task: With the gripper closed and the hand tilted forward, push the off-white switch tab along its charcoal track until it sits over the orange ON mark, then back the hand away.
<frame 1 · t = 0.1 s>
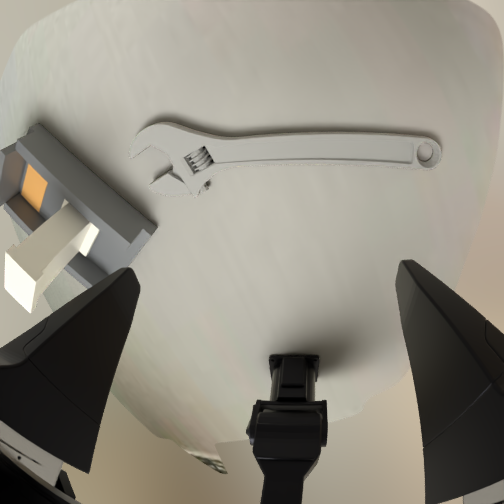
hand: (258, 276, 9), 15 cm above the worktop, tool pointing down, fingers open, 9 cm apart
adjustable wrench: (283, 153, 21), on the worktop
switch housing: (75, 204, 26), on the worktop
switch tab: (50, 251, 21), point 7 cm above the worktop, slide at 0.0 cm
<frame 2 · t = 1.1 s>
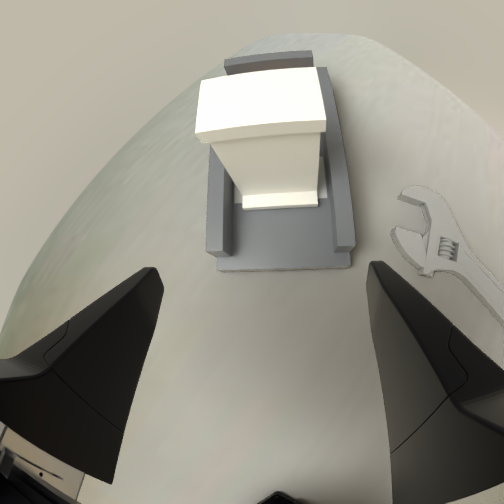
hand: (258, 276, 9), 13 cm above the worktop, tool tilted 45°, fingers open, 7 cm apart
adjustable wrench: (481, 299, 19), on the worktop
switch housing: (280, 165, 24), on the worktop
switch tab: (271, 146, 17), point 7 cm above the worktop, slide at 0.0 cm
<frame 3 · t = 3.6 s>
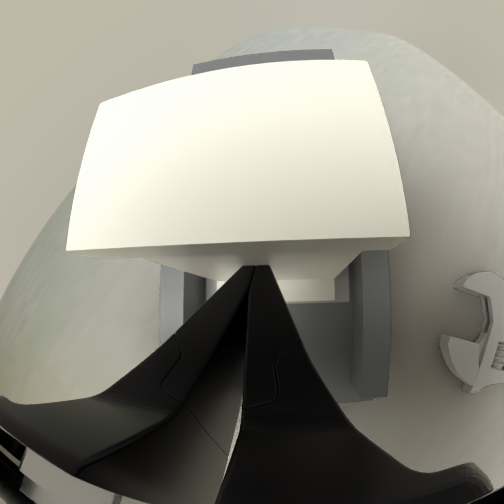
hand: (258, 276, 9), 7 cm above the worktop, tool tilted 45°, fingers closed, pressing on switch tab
switch housing: (278, 235, 16), on the worktop
switch tab: (259, 222, 9), point 7 cm above the worktop, slide at 0.8 cm, touching gripper
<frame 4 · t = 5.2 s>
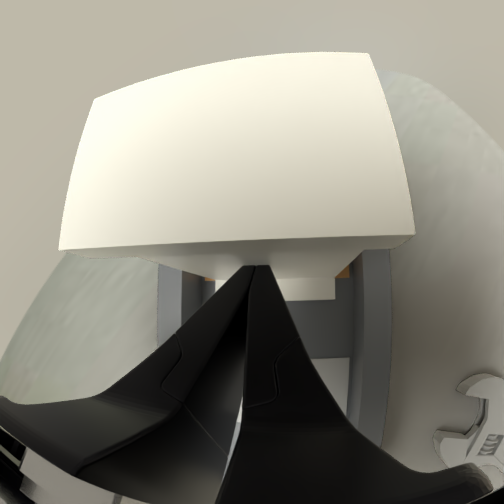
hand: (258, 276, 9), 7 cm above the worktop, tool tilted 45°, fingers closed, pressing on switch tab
adjustable wrench: (503, 467, 9), on the worktop
switch housing: (278, 350, 15), on the worktop
switch tab: (257, 220, 9), point 7 cm above the worktop, slide at 7.2 cm, touching gripper
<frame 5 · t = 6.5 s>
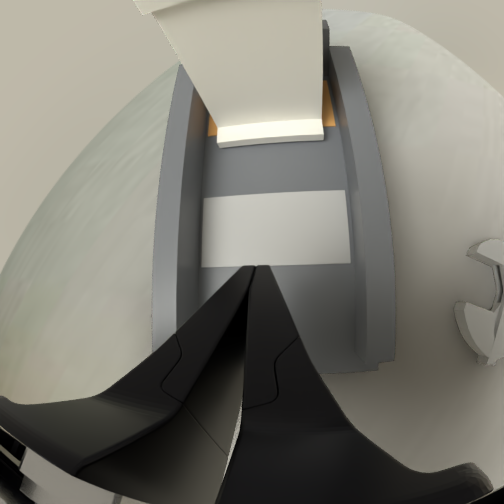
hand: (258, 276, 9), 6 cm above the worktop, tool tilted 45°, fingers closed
switch housing: (276, 199, 16), on the worktop
switch tab: (253, 44, 10), point 7 cm above the worktop, slide at 7.2 cm
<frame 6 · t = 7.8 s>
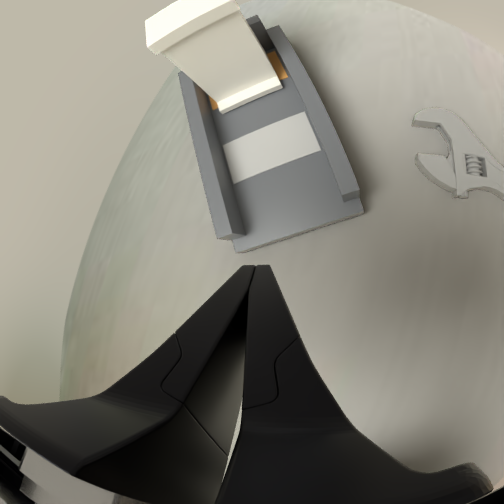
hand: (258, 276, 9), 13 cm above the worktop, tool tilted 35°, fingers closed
switch housing: (267, 133, 22), on the worktop
switch tab: (219, 48, 17), point 7 cm above the worktop, slide at 7.2 cm
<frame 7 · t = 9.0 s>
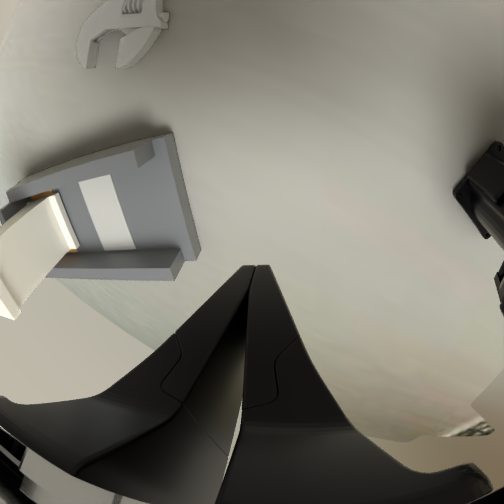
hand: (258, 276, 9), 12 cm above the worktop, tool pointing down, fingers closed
switch housing: (98, 207, 23), on the worktop
switch tab: (21, 251, 18), point 7 cm above the worktop, slide at 7.2 cm
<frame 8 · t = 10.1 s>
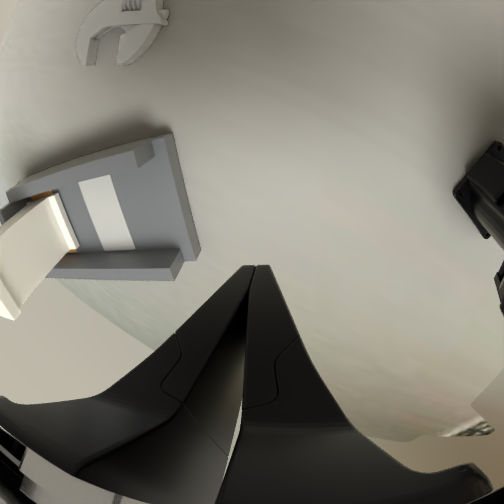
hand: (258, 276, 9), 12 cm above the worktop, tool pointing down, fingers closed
switch housing: (98, 207, 23), on the worktop
switch tab: (21, 252, 18), point 7 cm above the worktop, slide at 7.2 cm
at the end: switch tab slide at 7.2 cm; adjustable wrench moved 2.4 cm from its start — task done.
